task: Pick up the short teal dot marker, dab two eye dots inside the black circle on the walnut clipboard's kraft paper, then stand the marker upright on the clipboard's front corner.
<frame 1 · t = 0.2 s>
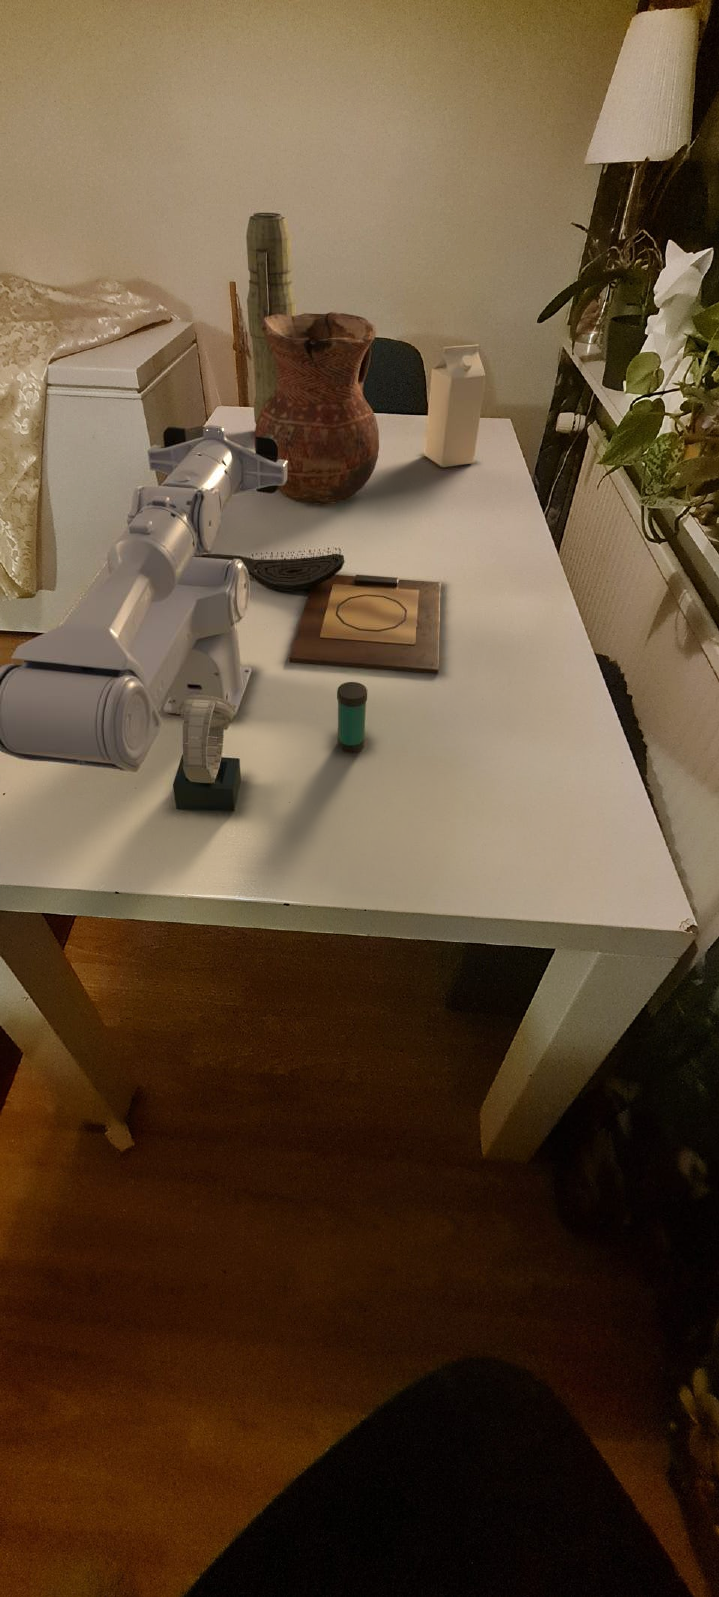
hand: (237, 439, 81), 21 cm above the table, tool horizontal, fingers open, 7 cm apart
watch: (209, 795, 69), on the table, touching arm
jug: (317, 489, 125), on the table
milk carton: (448, 460, 137), on the table
dot marker: (350, 744, 75), on the table
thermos: (277, 435, 145), on the table
hairbrush: (257, 576, 101), on the table, touching clipboard
clipboard: (370, 620, 93), on the table
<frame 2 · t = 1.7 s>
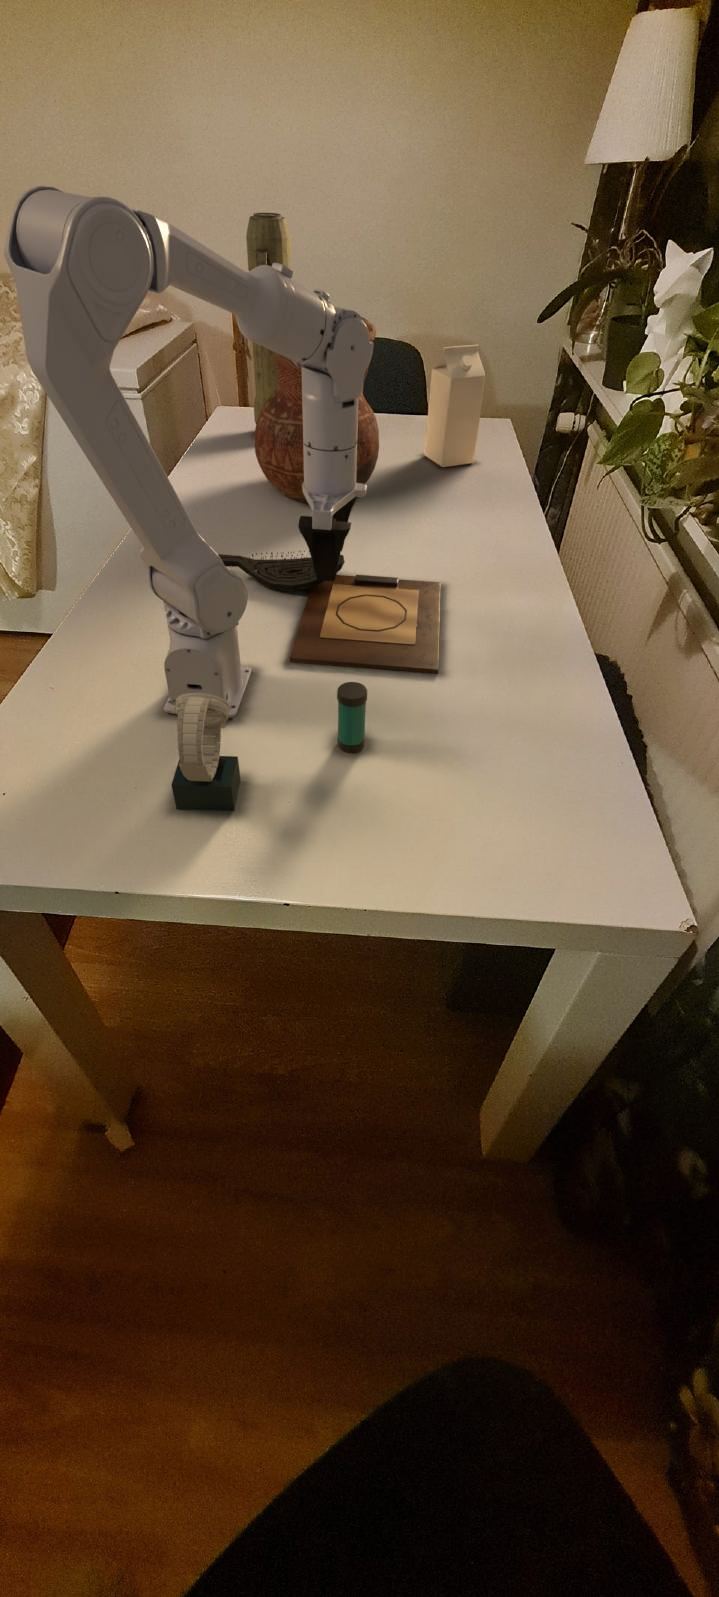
hand: (329, 564, 84), 9 cm above the table, tool pointing down, fingers open, 7 cm apart
watch: (209, 794, 69), on the table
everything else where it was.
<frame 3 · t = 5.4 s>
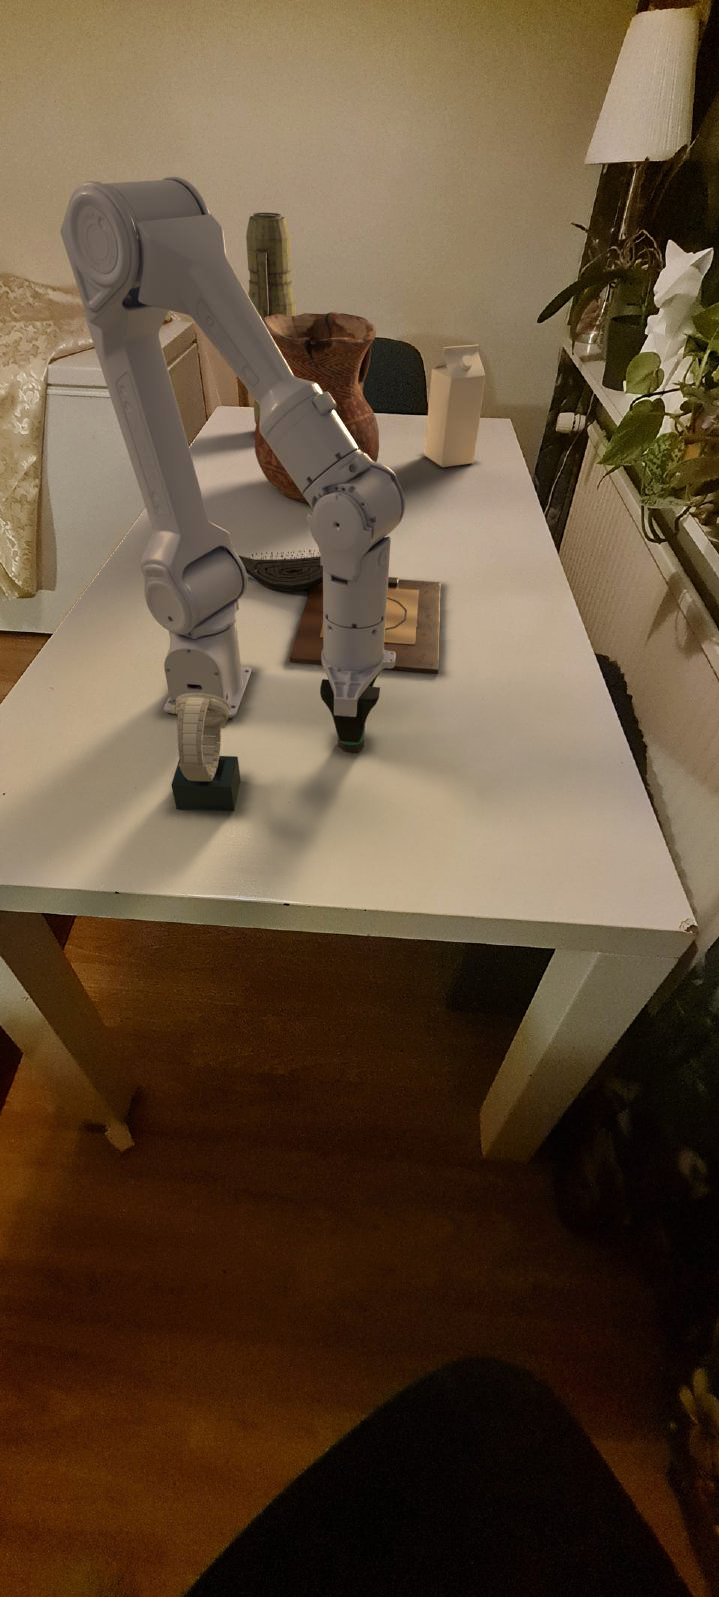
hand: (351, 729, 73), 2 cm above the table, tool pointing down, fingers closed on dot marker, 3 cm apart
dot marker: (350, 744, 75), on the table, touching gripper
everything else where it was.
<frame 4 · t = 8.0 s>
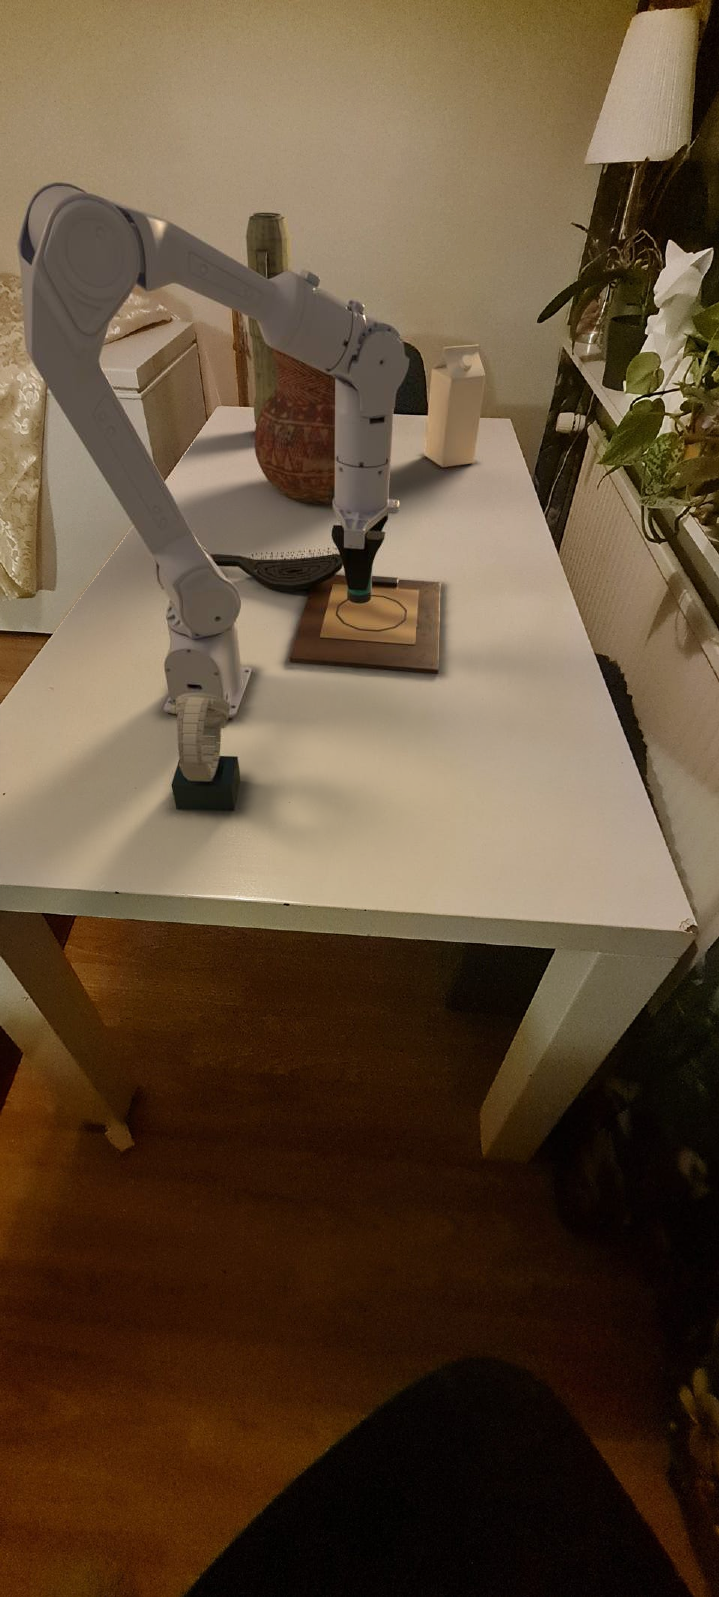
hand: (359, 581, 81), 9 cm above the table, tool pointing down, fingers closed on dot marker, 3 cm apart
dot marker: (359, 597, 83), point 7 cm above the table, touching gripper
everything else where it was.
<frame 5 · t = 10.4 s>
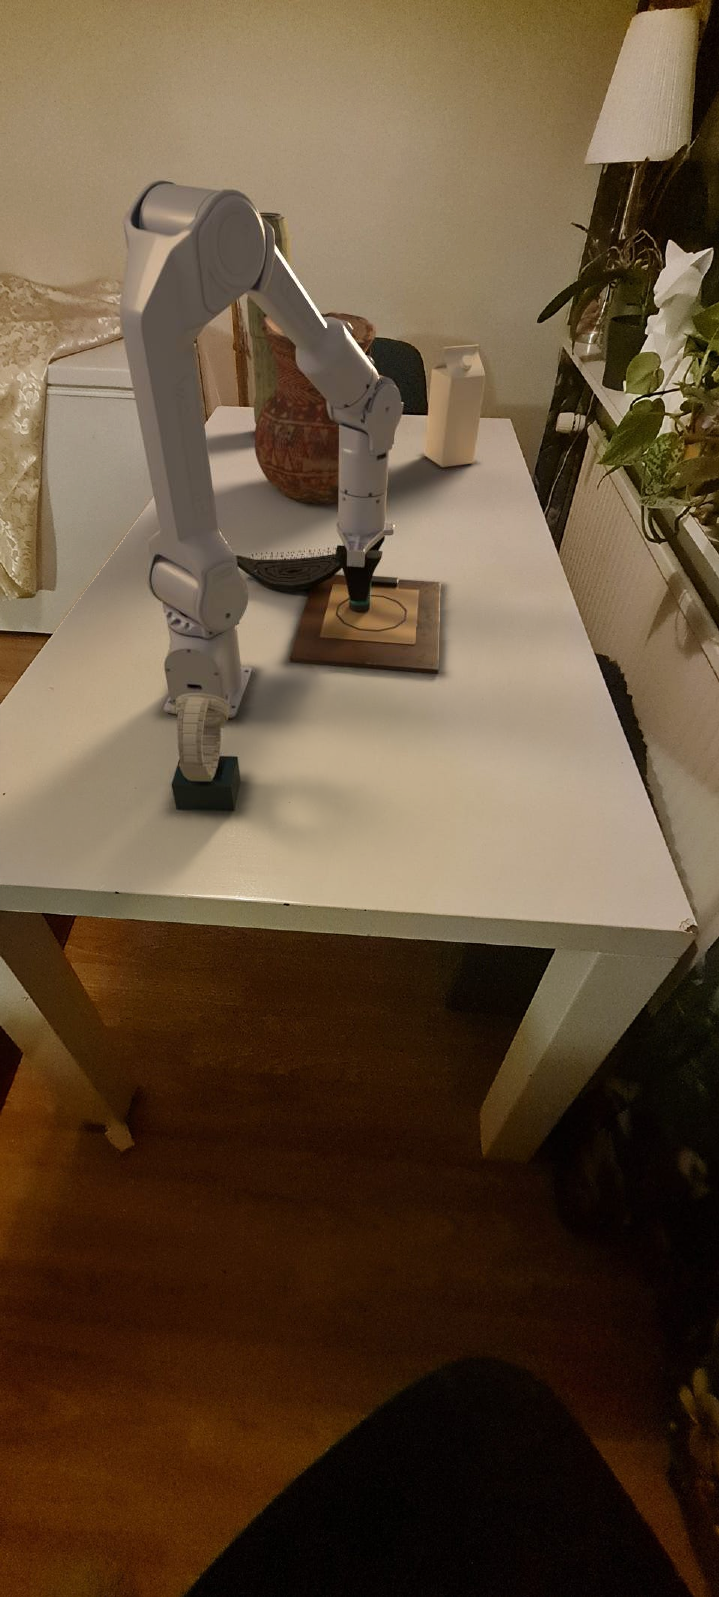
hand: (359, 593, 93), 3 cm above the table, tool pointing down, fingers closed on dot marker, 3 cm apart
dot marker: (359, 607, 94), point 1 cm above the table, touching clipboard, gripper
everything else where it was.
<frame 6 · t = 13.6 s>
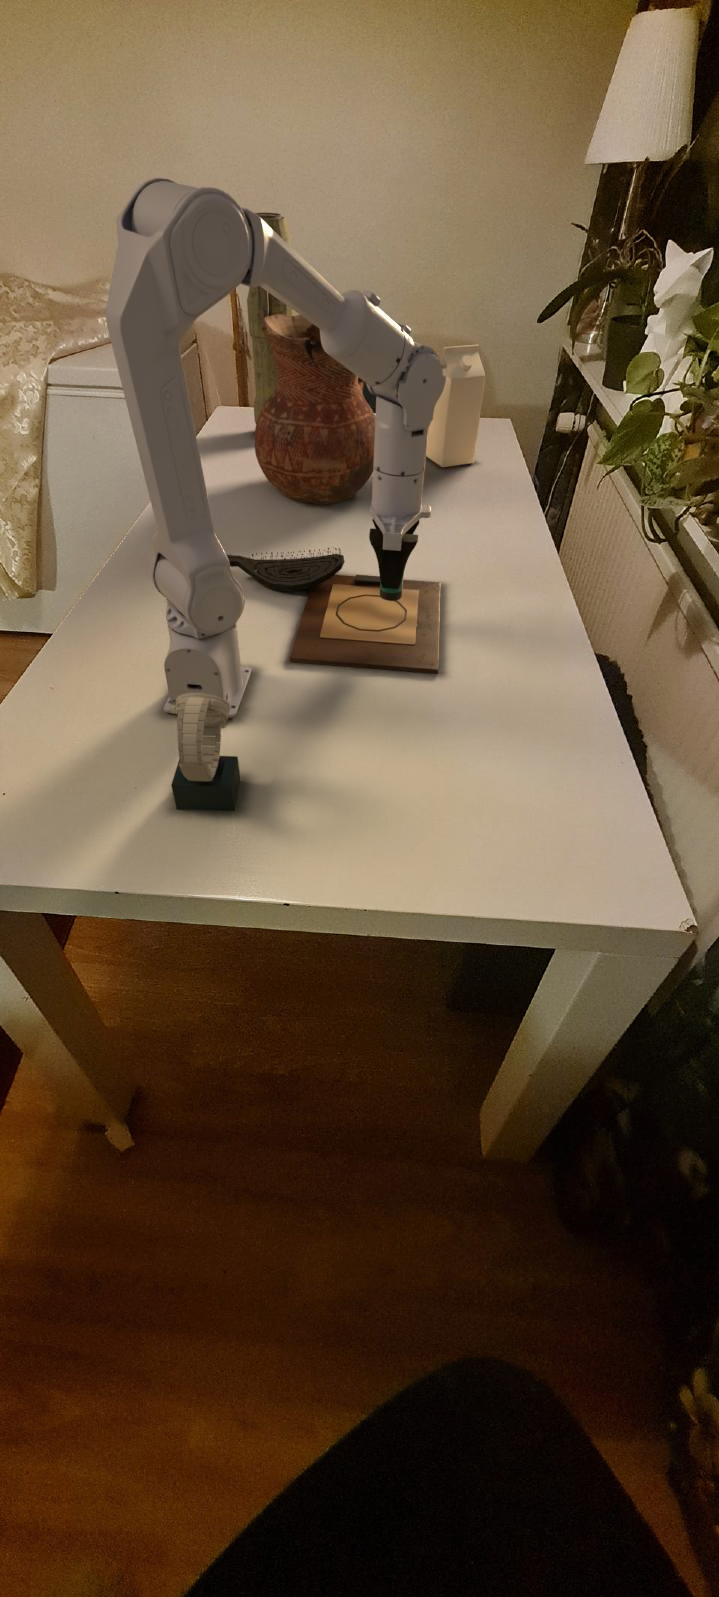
hand: (391, 580, 88), 6 cm above the table, tool pointing down, fingers closed on dot marker, 3 cm apart
dot marker: (390, 595, 89), point 4 cm above the table, touching gripper
everything else where it was.
when the fingers open (3 cm above the table, at t = 15.8 s): dot marker stays where it is, resting on clipboard.
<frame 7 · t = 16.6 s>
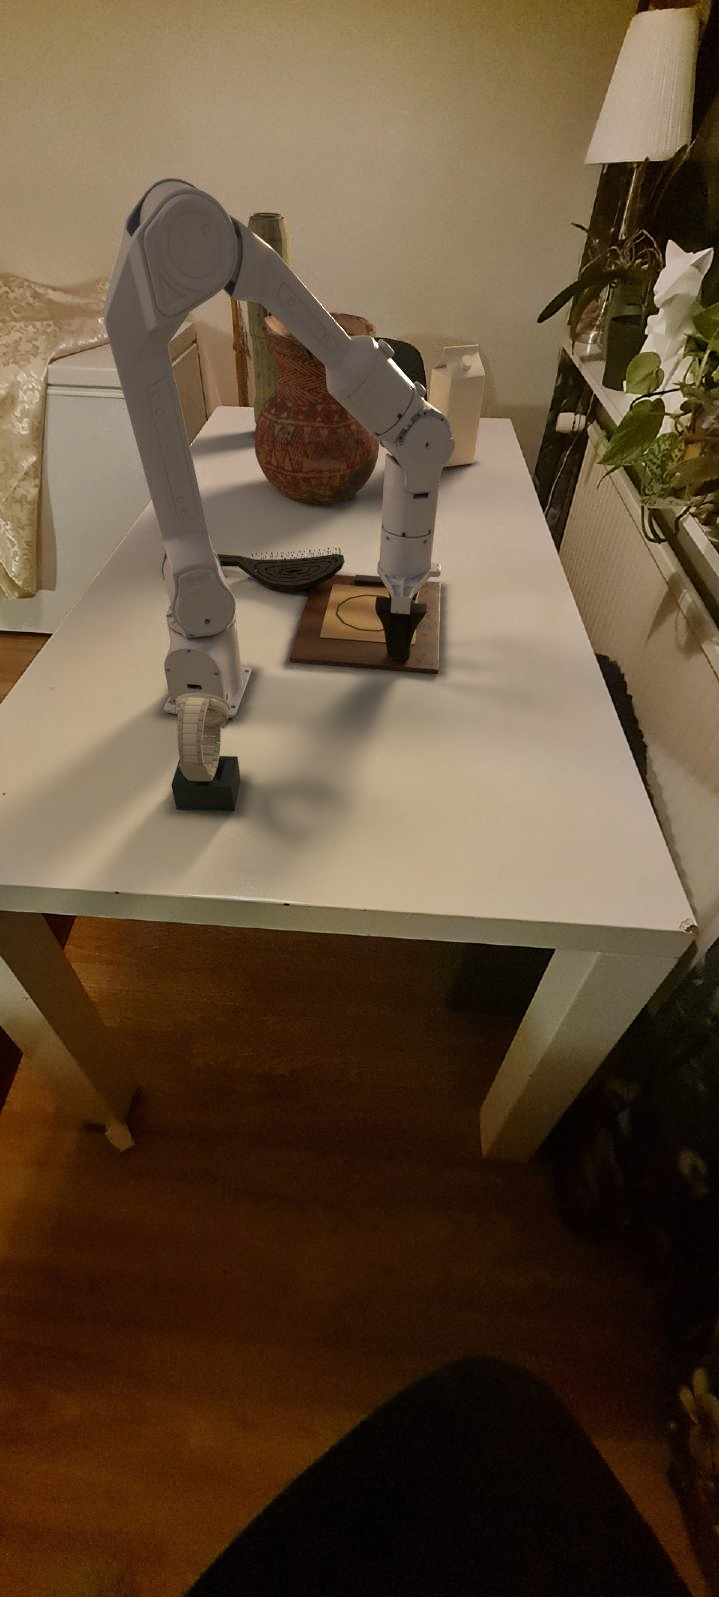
hand: (399, 637, 85), 3 cm above the table, tool pointing down, fingers open, 7 cm apart
dot marker: (398, 654, 86), point 1 cm above the table, touching clipboard
everything else where it was.
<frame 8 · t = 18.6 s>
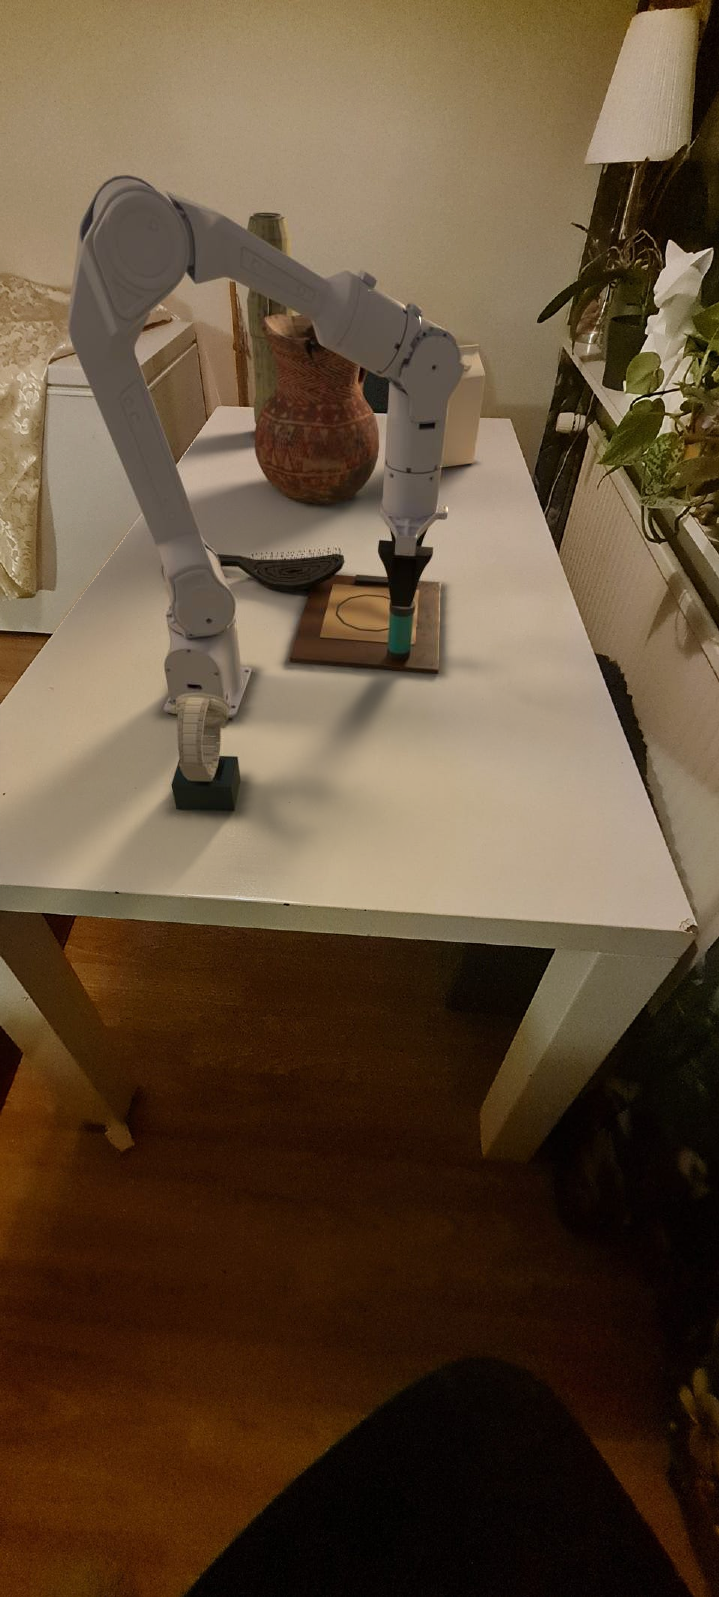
hand: (403, 588, 80), 9 cm above the table, tool pointing down, fingers open, 7 cm apart
nothing on the table moved.
at the end: dot marker inside the target area on the clipboard (0.5 cm from its centre), point 0.6 cm above the clipboard's base; dot marker tilted 0°; dot marker moved 17.5 cm from its start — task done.
